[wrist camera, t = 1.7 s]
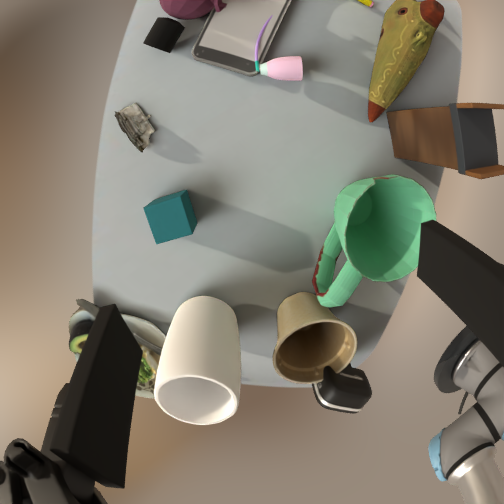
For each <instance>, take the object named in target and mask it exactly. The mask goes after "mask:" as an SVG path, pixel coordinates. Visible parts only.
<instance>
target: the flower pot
mask: <svg viewBox="0 0 504 504" xmlns="http://www.w3.org/2000/svg"><path fill="white" fill-rule="evenodd" d="M277 328H278V341H277V344H276V347H275V349H274V353H273V365H274V368H275V370H276V372H277V373H278V374H279V375H280V376H281V377H282V378H283V379H285V380H288V381H290V382H294V383H299V384H312V383H317V382H321V381H322V380H323V370H324V367H325V366H330V367H331V368H332V369H333V370H334V371H335V373H339V372H341V371H342V370H343V369H344V368H345V367H347V365H348V364H349V363H350V362H351V360H352V358H353V357H354V355H355V352H356V349H357V336H356V333H355V332H354V330H353V329H352V328H351V326H349V325H348V324H347V323H345V322H343V321H341V320H340V319H338V318H336V317H335V316H334V315H333V313H332V312H331V311H330V310H329V309H328V308H327V307H325V306H322V305H321V304H320V302H319V300H318V298H317V296H316V295H314V294H312V293H308V292H299V293H297V294H295V295H292V296H290V297H287V298H286V299H285V300H284V301H283V302H282V303H281V304H280V306H279V308H278V311H277Z"/></svg>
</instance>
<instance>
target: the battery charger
mask: <svg viewBox="0 0 504 504" xmlns="http://www.w3.org/2000/svg"><path fill="white" fill-rule="evenodd" d="M312 387H313V390H314V394H315V397H316V400H317V401H318V403H319V404H320V405H321V406H322V407H324V408H326V409H330V410H335V411H339V412H346V413H357V412H359V411H360V410H362V409H363V407H364V405H365V404H366V403H367V402H368V400H369V399H370V398H371V395H372V391H371V387H370V384H369V382H368V379H367V377H366V375H365V373H364V371H362V370H360V369H356V368H352V367H351V364H350V363H349V364H348V365H347V367H345V368H344V369H343V370H342V371H341V372H339V373H335V371H334V370H333V369H332V368H331V367H330V366H325V367H324V370H323V380H322V381H321V382H317V383H312Z"/></svg>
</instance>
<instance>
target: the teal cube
mask: <svg viewBox="0 0 504 504" xmlns="http://www.w3.org/2000/svg"><path fill="white" fill-rule="evenodd" d="M144 211H145V214H146V217H147V220H148V222H149V225H150V228H151V231H152V234H153V236H154V239H155V242H156V244H159V243H163V242H166V241H170V240H173V239H177V238H180V237H184V236H187V235H191V234H193V232H194V230H195V227H196V225H197V220H196V217H195V214H194V211H193V208H192V204H191V201H190V198H189V195H188V191H187V190H184V191H180V192H177V193H174V194H171V195H168V196H165V197H161V198H158V199H155V200H153V201H152V202H151V203H149V204H148V205H147V206H145V207H144Z"/></svg>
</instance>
